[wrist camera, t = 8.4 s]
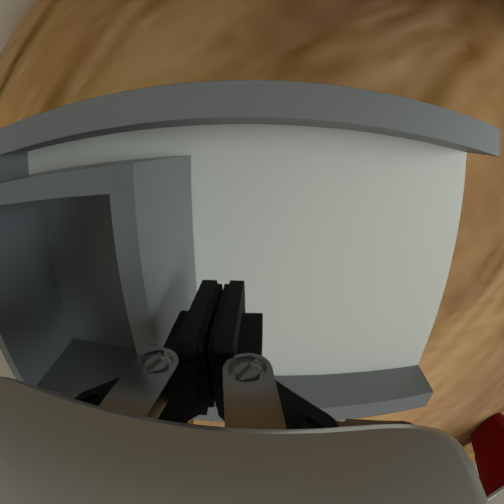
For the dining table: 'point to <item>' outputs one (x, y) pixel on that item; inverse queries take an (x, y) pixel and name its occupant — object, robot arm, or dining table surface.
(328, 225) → the bay
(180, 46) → the dining table surface
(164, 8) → the dining table surface
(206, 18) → the dining table surface
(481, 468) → the plastic cup
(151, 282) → the crate
